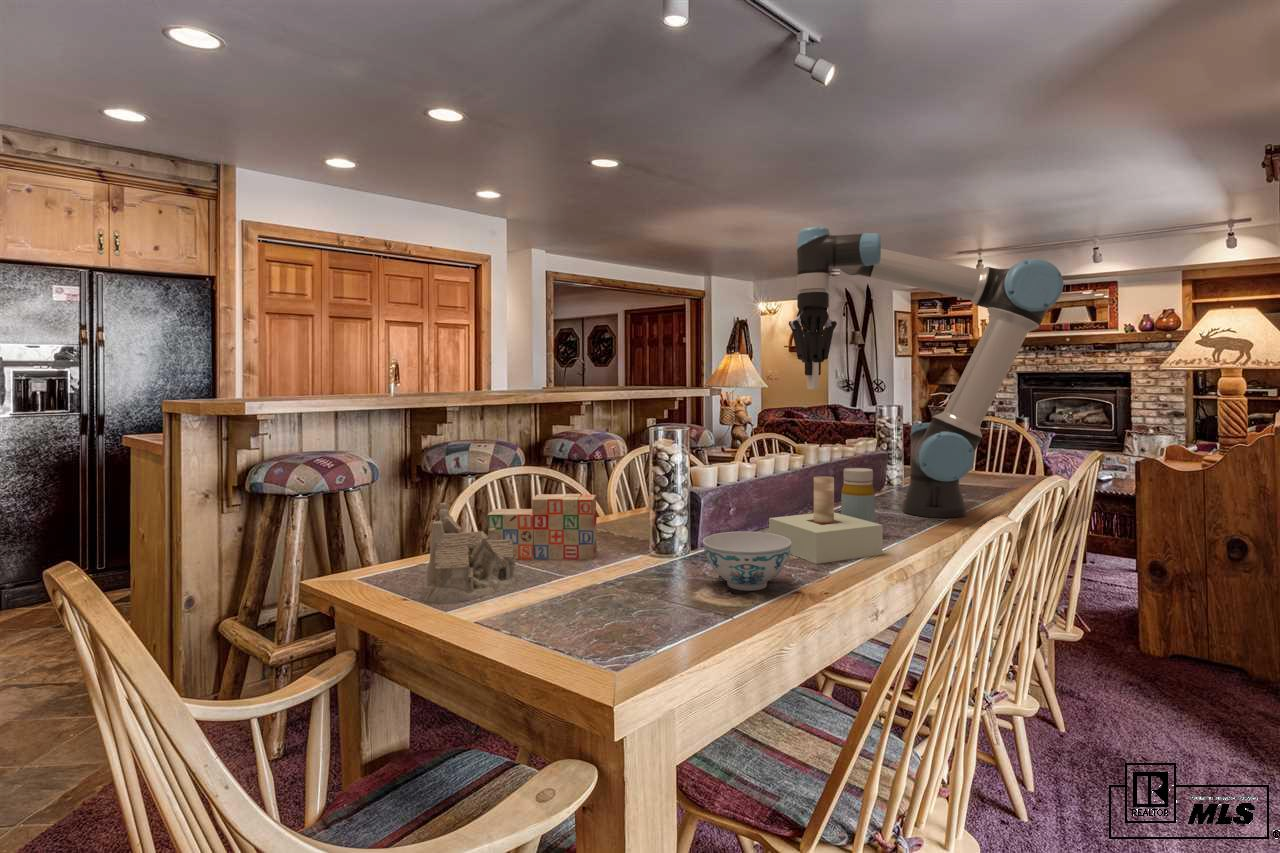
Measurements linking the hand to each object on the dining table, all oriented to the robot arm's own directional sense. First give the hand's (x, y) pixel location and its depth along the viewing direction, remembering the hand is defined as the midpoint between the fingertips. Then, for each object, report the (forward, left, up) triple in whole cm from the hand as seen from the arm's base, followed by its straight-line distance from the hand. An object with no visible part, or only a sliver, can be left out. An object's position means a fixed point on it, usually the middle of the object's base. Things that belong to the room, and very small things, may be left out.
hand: (812, 388), depth 178 cm
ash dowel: (+18, +28, -31) cm, 46 cm away
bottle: (+4, +21, -33) cm, 39 cm away
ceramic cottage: (+89, +23, -33) cm, 97 cm away
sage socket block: (+18, +28, -32) cm, 46 cm away
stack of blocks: (+71, +6, -33) cm, 78 cm away
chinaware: (+45, +42, -33) cm, 70 cm away
